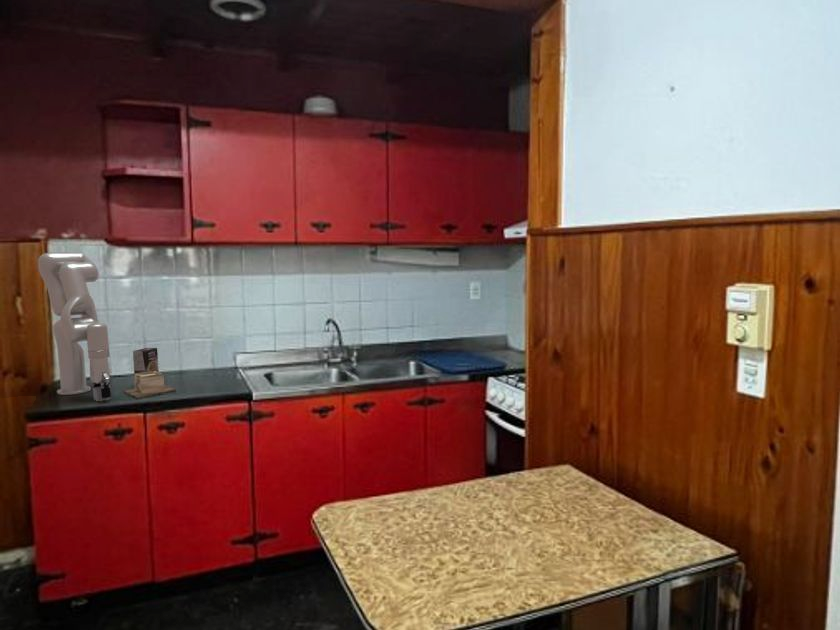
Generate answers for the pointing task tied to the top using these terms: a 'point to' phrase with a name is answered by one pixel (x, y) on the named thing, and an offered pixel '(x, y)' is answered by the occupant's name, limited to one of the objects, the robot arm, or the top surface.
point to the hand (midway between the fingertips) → (102, 395)
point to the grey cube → (98, 394)
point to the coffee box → (145, 360)
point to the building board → (139, 395)
